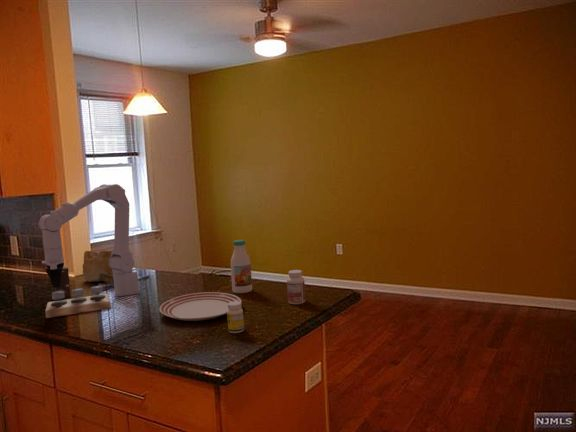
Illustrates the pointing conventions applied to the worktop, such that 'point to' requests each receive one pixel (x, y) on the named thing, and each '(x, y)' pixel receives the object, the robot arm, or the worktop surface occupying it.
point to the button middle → (77, 292)
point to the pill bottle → (296, 287)
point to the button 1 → (58, 295)
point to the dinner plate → (198, 306)
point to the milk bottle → (240, 268)
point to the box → (64, 283)
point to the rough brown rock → (97, 267)
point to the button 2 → (96, 289)
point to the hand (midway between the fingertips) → (57, 285)
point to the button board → (77, 305)
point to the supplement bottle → (235, 317)
